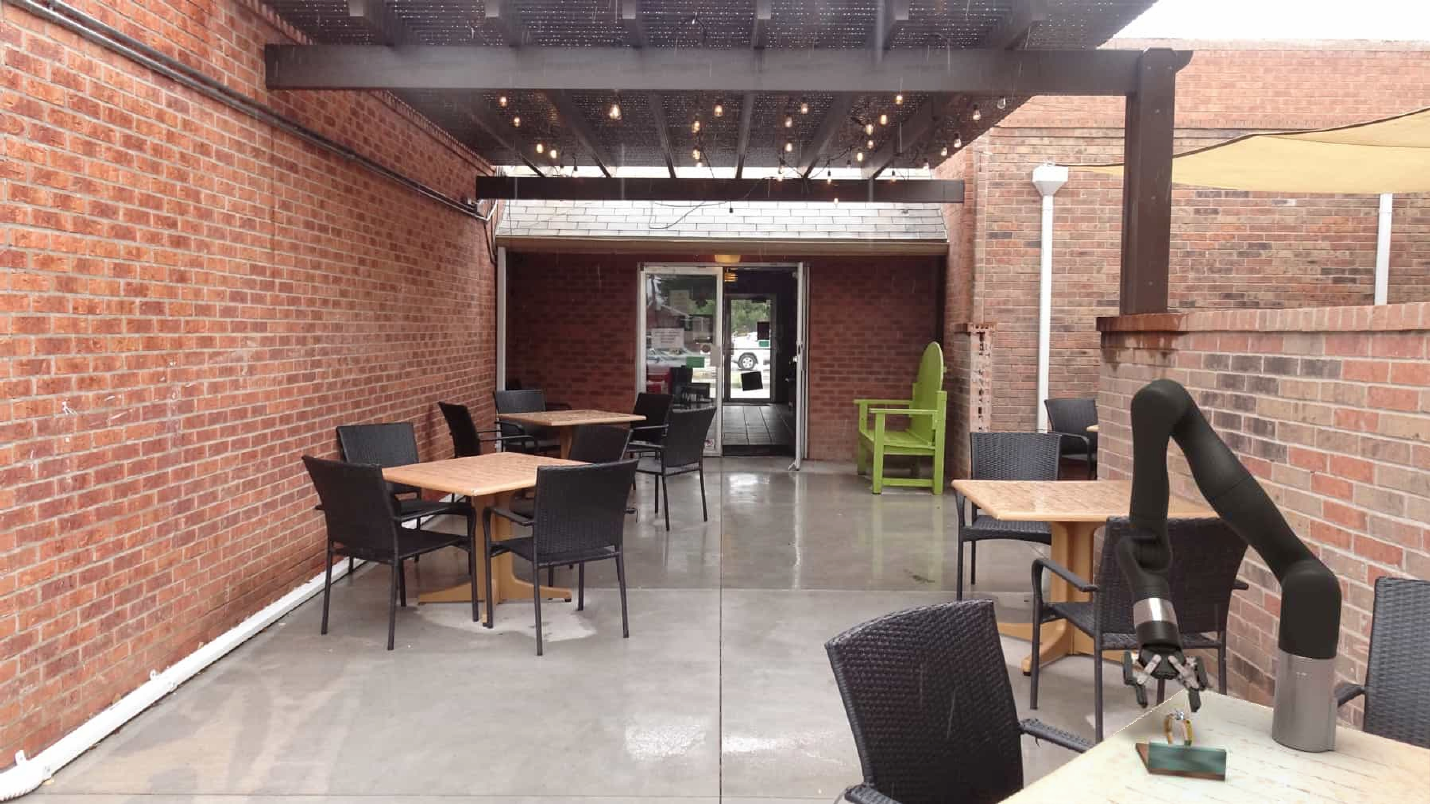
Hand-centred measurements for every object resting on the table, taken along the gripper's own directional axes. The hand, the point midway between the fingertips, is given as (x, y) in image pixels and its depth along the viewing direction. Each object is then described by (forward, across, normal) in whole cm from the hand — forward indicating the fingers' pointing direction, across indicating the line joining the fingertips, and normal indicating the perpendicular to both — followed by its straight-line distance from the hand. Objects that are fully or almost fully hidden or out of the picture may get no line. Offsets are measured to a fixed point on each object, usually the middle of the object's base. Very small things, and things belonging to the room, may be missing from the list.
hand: (1170, 708), depth 174 cm
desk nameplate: (+10, 0, 0) cm, 10 cm away
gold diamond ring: (+8, 0, 0) cm, 9 cm away
